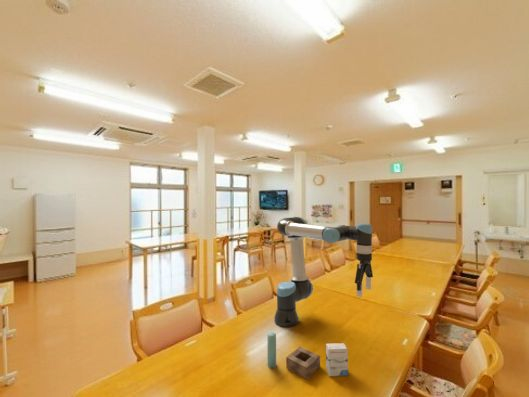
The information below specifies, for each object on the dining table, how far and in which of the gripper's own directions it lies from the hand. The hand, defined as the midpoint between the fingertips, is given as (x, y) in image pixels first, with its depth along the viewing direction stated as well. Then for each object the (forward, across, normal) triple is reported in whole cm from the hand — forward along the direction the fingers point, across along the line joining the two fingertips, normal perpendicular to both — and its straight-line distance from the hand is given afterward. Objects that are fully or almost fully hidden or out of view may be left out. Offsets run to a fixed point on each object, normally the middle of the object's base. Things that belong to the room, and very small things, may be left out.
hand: (364, 292), depth 135 cm
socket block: (+27, -38, +14) cm, 48 cm away
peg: (+27, -45, +27) cm, 59 cm away
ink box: (+27, -31, +1) cm, 41 cm away
